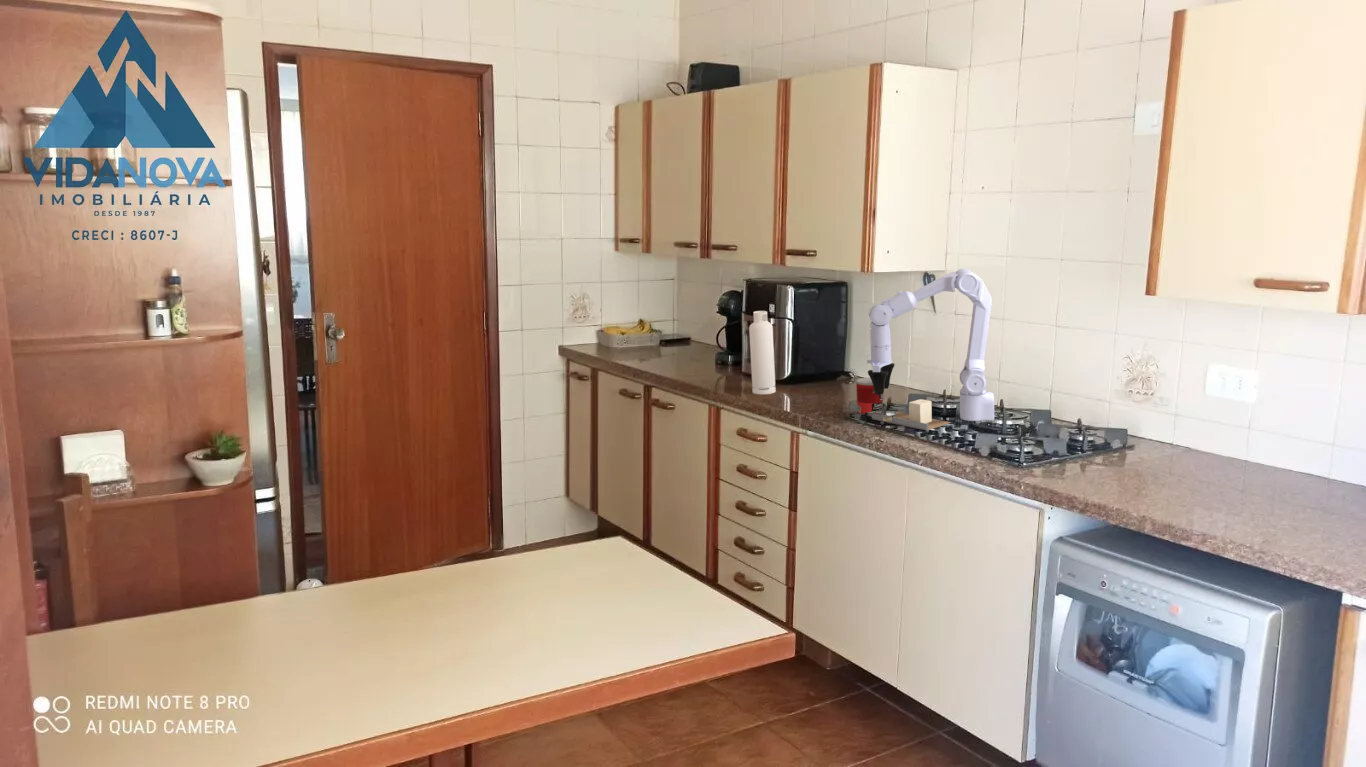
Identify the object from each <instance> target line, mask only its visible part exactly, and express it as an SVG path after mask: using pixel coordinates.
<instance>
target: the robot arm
mask: <svg viewBox="0 0 1366 767" xmlns="http://www.w3.org/2000/svg"><path fill="white" fill-rule="evenodd" d="M956 289H957V291H958V292H959V293H961V294H963V295H964V296H965V297H967V298H968V299H969V301H971V303H973V305H972V313H971V314H972V315H971V322H970V328H969V329H970V330H969V338H968V346H967V354H966V359H965V362H964V366H963V369H962V370H961V372H960V373H959V381H960V384H962V387H961V388H960V390H959V418H960V419H961V420H962V421H963V420H964V421H969V422H972V421H973V422H978V421H979V422H980V421H994V420H995V394H994V393H993V392H992V391H987V389H986V387H987V382H988V381H987V379H986V376H985V372H986V368H985V366H986V364H985V357H986V349H987V342H988V334H989V326H990V321H991V312H992V304H993V298H992V295H991V294H990V292H989V290H988V289H987V286H986V284H985V283H984V280H983V279H982V278H981V277H980V276H978V275H977V274H976V273H975V272H973V271H972V270H970V269H969V268H960V269H958V270H956V271H953V272H949V273H947V274H945V275H943V276H941V277H938V278H937V279H934V280H933V281H931V282H929V283H927V284H926V285H923V286H922V287H919V288H918V289H915V290H913V291H908V290H904V291H902V290H899V291H897V292H896V293H897V294H896V295H894V296H892V297H890V298H888V299H885V298H884V299H882V300H881V302H877V303H875V304H873V305H872V306H871V307H870V309H869V312H868V316H869V318H870V326H869V327H870V331H869V336H870V337H869V338H870V359H867V360H866V364H871V367H872V369H869V370H868V371H867V375H868V376H869V378H871V380H872V383H873V387H874V391H875V394H876V395H883V396H884V392H885V390H887V389H889V386H890V383H891V382H890V381H891V375H892V372H893V370H894V368H895V363H893V360H892V338H891V337H892V336H891V328H890V321H891V320H892V319H896V318H898V317H900V316H902V315H905V314H906V313H908V312H911V311H912V310H914V309H916V306H917V304H918V303H920V302H922V301H923V300H926V299H928V298H930V297H933V296H936V295H937V294H940V293H942V292H949V293H950V292H951V293H955V292H956Z"/></svg>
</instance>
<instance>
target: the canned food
mask: <svg viewBox="0 0 1366 767" xmlns="http://www.w3.org/2000/svg"><path fill="white" fill-rule="evenodd" d="M855 386H856V410H857V411H856V413H857V412H858V413H860V414H859V415H861V414H863V415H864V414H865V413H867V412H872V411H876V410H879V409H882V408H883V409H884V394H883V395H876V394H875V391H874V387H873V383H872V380H871V378H870V377H863V378H858V379H857V380H856V385H855ZM865 415H866V414H865Z"/></svg>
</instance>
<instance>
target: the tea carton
mask: <svg viewBox="0 0 1366 767" xmlns="http://www.w3.org/2000/svg"><path fill="white" fill-rule="evenodd" d="M908 414H909V420H912V421H917V422H922V423H928V422H931V421H932V419H933V418H932V416H933V415H932V414H933V412H932V401H931V400H928V399H927V400H926V399H921V398H920V399H916V400H913V401H909V402H908Z"/></svg>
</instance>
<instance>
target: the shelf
mask: <svg viewBox="0 0 1366 767" xmlns="http://www.w3.org/2000/svg"><path fill="white" fill-rule="evenodd" d="M895 412H896V415H895V416H893V417H892V416H887V414H882V413H872V414H871V419H872V420H874V421H880V422H884V423H888V424H894V425H899V426H902V427H908V428H912V429H917V430H921V431H922V430H923V431H926V432H928V431H930V430H933V429H936V428H939V427H942V426H945V425H946V426H947V425H949V424H952V422H951V421H946V420H942V419H941V420H940V419H936V418H932V421H931V422H928V423H922V422H917V421H912V420H909V413H905V412H900V411H895Z"/></svg>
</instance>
